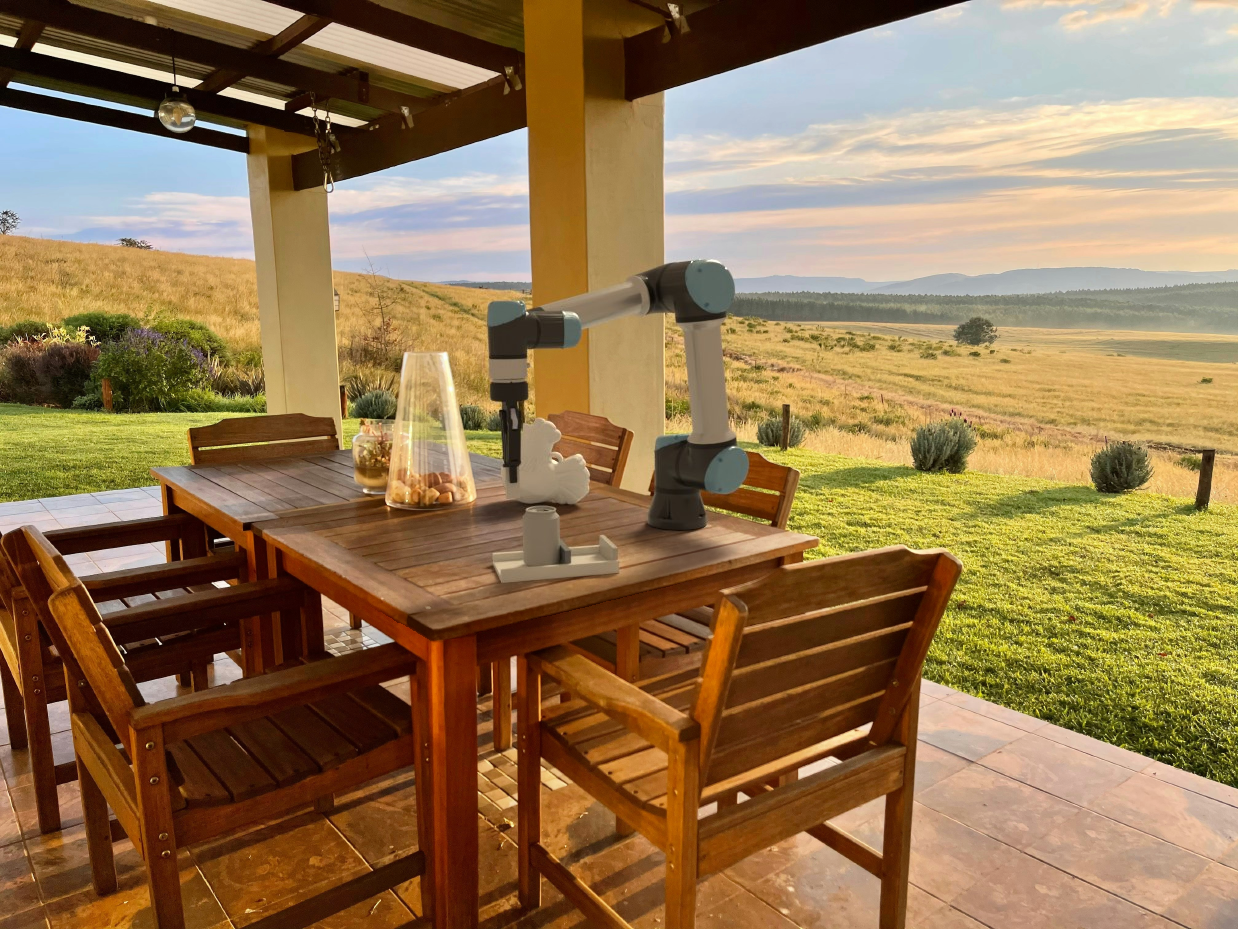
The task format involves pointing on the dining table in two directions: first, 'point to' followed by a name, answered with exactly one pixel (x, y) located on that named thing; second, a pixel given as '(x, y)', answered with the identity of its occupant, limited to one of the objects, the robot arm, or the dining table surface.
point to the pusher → (564, 553)
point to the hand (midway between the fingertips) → (512, 497)
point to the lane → (582, 564)
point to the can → (541, 536)
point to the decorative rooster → (548, 468)
